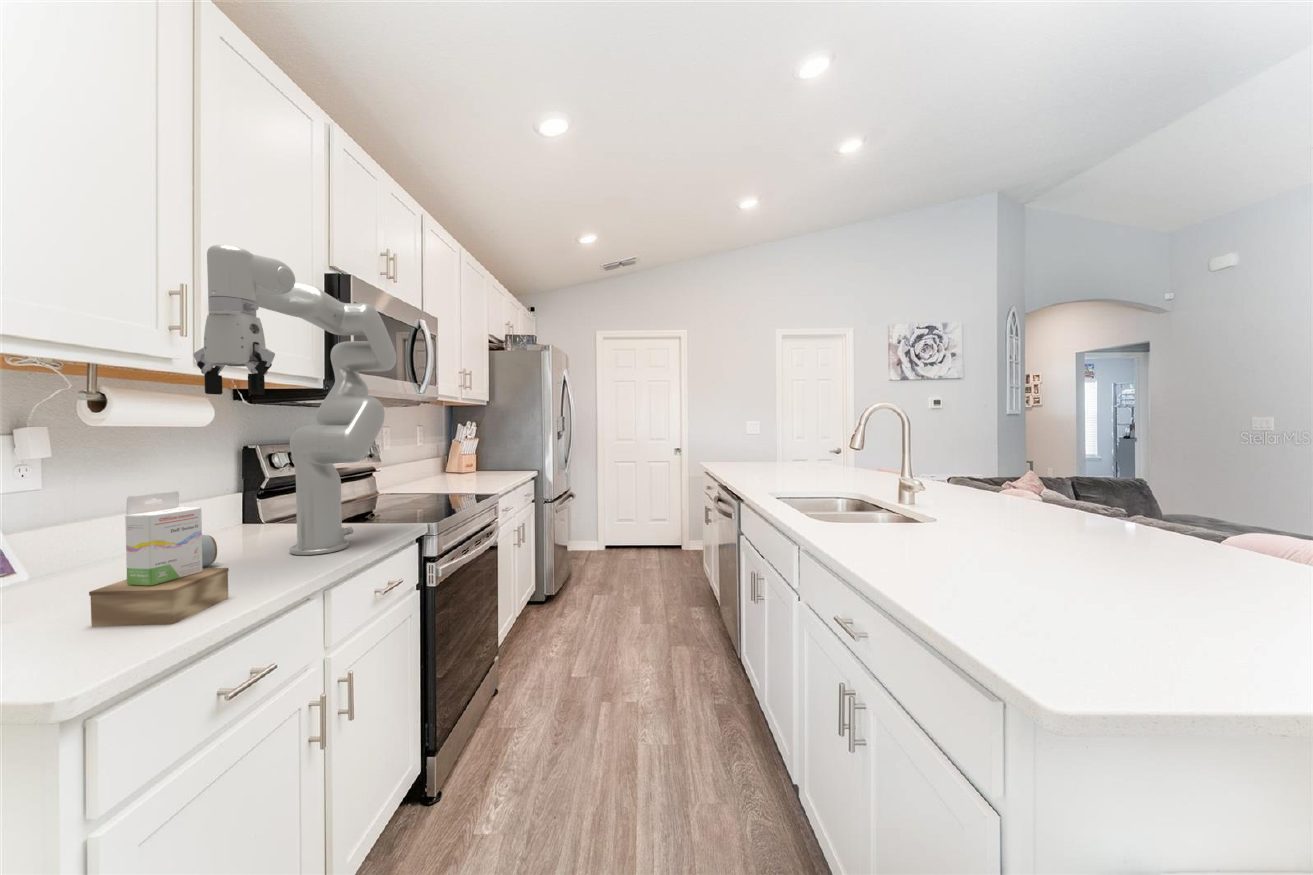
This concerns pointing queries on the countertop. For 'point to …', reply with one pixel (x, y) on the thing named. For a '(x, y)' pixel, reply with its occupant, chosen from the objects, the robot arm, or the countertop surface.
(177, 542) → the ink box
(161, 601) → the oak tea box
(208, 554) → the ceramic mug
